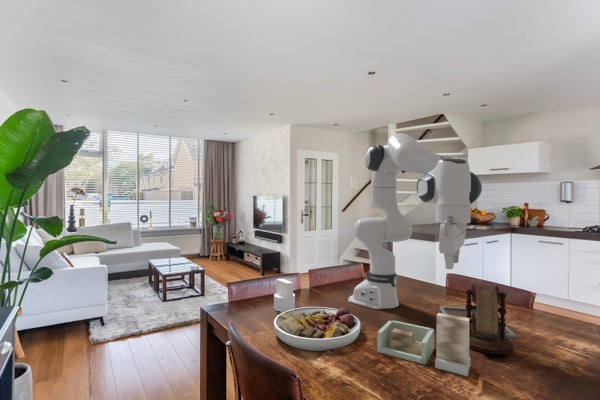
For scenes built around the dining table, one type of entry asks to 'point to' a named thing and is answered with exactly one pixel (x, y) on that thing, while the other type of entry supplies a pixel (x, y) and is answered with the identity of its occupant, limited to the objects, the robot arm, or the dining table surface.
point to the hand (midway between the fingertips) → (452, 265)
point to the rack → (420, 335)
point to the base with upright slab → (284, 296)
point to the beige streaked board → (452, 338)
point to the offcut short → (402, 336)
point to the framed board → (462, 313)
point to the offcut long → (406, 347)
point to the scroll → (487, 321)
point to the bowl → (317, 328)
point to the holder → (452, 366)
